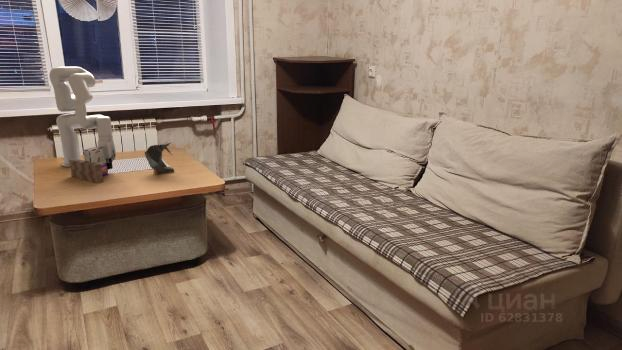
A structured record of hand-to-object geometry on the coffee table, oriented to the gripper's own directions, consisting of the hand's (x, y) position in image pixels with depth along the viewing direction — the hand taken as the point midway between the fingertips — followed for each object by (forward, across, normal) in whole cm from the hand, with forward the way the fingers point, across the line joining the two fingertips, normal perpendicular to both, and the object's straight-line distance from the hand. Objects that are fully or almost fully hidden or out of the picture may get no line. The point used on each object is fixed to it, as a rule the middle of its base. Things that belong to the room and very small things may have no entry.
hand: (109, 168), depth 259 cm
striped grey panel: (+3, 0, -14) cm, 15 cm away
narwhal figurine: (+3, +24, +16) cm, 29 cm away
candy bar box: (+3, -1, -7) cm, 8 cm away
